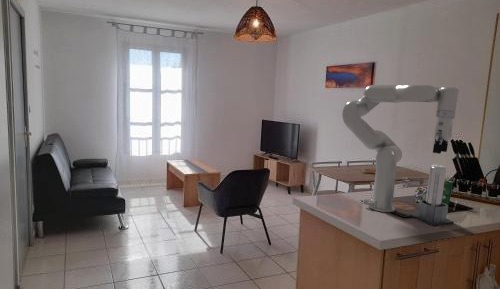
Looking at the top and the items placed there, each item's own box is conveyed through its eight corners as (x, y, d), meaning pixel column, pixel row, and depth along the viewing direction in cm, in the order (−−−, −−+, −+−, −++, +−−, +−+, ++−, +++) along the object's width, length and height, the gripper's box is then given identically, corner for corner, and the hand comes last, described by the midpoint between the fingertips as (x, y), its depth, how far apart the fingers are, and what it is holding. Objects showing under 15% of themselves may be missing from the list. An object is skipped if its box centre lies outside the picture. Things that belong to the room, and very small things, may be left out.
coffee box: (449, 204, 198) (453, 181, 196) (449, 205, 195) (453, 181, 193) (433, 201, 202) (436, 178, 200) (433, 202, 199) (436, 179, 198)
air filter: (441, 219, 168) (449, 166, 164) (434, 221, 164) (441, 167, 161) (428, 214, 173) (435, 163, 170) (420, 216, 169) (427, 164, 166)
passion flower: (416, 211, 198) (408, 191, 203) (434, 208, 199) (426, 188, 204) (425, 206, 188) (417, 184, 193) (444, 202, 189) (436, 181, 194)
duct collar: (433, 226, 160) (435, 208, 159) (410, 216, 172) (412, 200, 171) (453, 223, 165) (456, 206, 164) (429, 214, 177) (431, 198, 176)
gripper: (449, 115, 153) (443, 155, 156) (459, 115, 166) (453, 152, 168) (430, 114, 158) (425, 152, 160) (441, 114, 171) (436, 149, 173)
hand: (439, 152), depth 164 cm, fingers open, 9 cm apart
